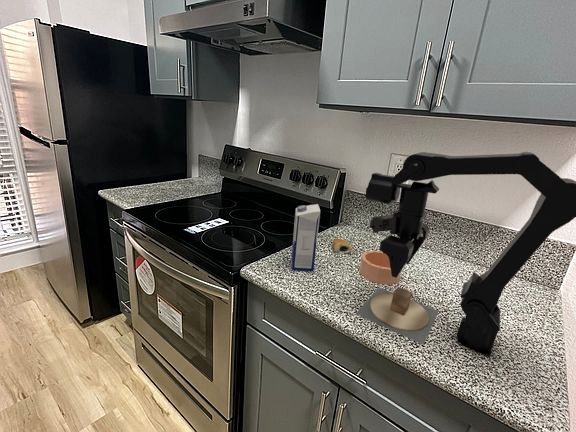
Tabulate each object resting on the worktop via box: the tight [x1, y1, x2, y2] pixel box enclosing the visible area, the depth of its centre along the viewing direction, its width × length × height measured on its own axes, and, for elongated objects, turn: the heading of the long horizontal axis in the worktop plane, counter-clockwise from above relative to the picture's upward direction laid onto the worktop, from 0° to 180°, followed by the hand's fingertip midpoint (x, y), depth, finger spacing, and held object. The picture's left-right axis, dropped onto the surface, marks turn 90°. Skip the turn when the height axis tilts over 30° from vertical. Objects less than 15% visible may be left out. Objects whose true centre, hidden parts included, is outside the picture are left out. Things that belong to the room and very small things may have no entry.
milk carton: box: [290, 203, 321, 273], centre depth 95 cm, size 7×7×20 cm
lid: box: [370, 286, 429, 331], centre depth 77 cm, size 14×14×6 cm
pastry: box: [331, 237, 352, 254], centre depth 113 cm, size 9×7×4 cm
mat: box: [355, 287, 440, 345], centre depth 78 cm, size 16×16×1 cm
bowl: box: [359, 250, 403, 286], centre depth 96 cm, size 12×12×6 cm
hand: (400, 269), depth 75 cm, fingers open, 9 cm apart
